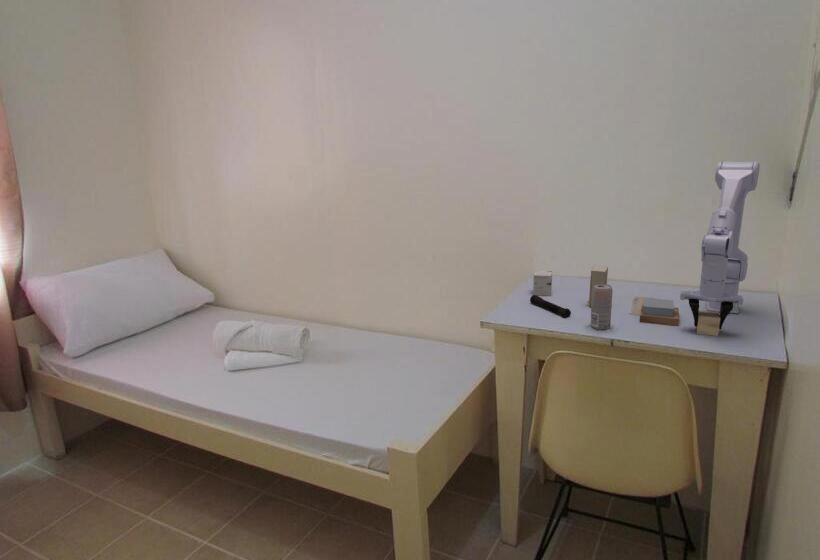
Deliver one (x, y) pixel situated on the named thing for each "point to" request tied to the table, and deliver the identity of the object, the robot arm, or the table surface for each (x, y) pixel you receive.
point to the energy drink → (601, 306)
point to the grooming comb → (638, 305)
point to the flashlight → (550, 306)
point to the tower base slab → (660, 318)
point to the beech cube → (708, 323)
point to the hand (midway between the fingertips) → (707, 326)
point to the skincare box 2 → (597, 278)
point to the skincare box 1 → (542, 283)
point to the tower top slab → (658, 307)
